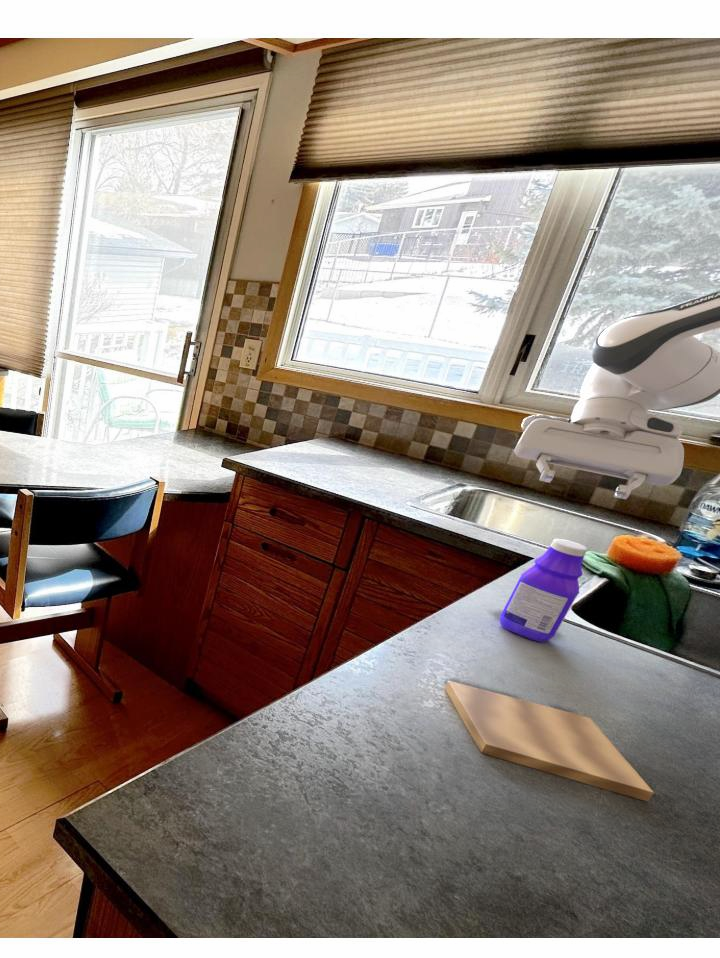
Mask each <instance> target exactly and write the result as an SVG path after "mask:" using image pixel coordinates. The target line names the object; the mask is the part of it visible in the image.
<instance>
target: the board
mask: <svg viewBox="0 0 720 958" xmlns="http://www.w3.org/2000/svg"><path fill="white" fill-rule="evenodd" d="M444 690H445V692H446V694H447V696H448V698H449V699H450V700H451V703H452V704H453V706H454V707H455V709H456V711H457V713H458V715H459V716H460V718H461V720H462V722H463V723H464V726H465V727H466V729H467V730H468V732H469V734H470V736H471V738H472V739H473V741H474V742H475V744H476V746H477V748H478V750H479V751H480V753H481V754H483V755H487V756H491V757H494V758H498V759H500V760H504V761H508V762H511V763H514V764H517V765H521V766H525V767H528V768H532V769H535V770H539V771H541V772H545V773H548V774H552V775H554V776H555V775H556V776H559V777H562V778H566V779H569V780H573V781H575V782H579V783H582V784H586V785H588V786H589V785H590V786H592V787H596V788H600V789H603V790H606V791H608V792H609V791H610V792H613V793H617V794H620V795H622V796H626V797H630V798H633V799H636V800H641V801H644V802H647V803H648V802H649V801H650V799H651V798H652V797H653V795H654V794H655V791H653V790H652V788H651V787H650V786H649V785H648V783H647V782H646V781H645V780H644V779H643V778H642V777H641V775H639V773H638V772H637V771H636V769H634V767H633V766H632V765H631V764H630V763H629V761H628V760H627V759H626V758H625V757H624V755H623V754H621V753H620V751H619V750H618V748H616V746H615V745H614V744H613V743H612V741H610V739H609V738H608V737H607V736H606V735H605V734H604V733H603V731H602V730H601V728H599V727H598V726H597V724H596V723H595V722H594V721H593V720H592V719H591V718H590V717H588V716H584V715H581V714H577V713H574V712H570V711H566V710H562V709H560V708H554V707H551V706H547V705H543V704H539V703H536V702H531V701H528V700H524V699H521V698H516V697H513V696H510V695H505V694H501V693H498V692H493V691H490V690H486V689H483V688H479V687H475V686H472V685H467V684H463V683H459V682H457V681H453V680H447V682H446V684H445V686H444Z"/></svg>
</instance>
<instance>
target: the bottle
mask: <svg viewBox="0 0 720 958" xmlns="http://www.w3.org/2000/svg"><path fill="white" fill-rule="evenodd" d="M587 552H588V548H587V547H586V546H585V545H583V544H580V543H578V542H575V541H572V540H568V539H565V538H564V539H563V538H554V539H553V540H552V542H551V544H550V546H549V547H548V548H547V550H546V551H545V552H544V553H543V554H542V555H540V556H539V557H537V558H535V559H534V565H532V566H530V567H529V568H527V569H526V570H525V571H524V572H522V573H521V574H520V577H519V579H518V581H517V583H516V584H515V587H514V588H513V590H512V592H511V594H510V596H509V597H508V600H507V601H506V604H505V606H504V608H503V610H502V612H501V613H500V615H499V623H500V626H502V628H504V629H505V630H508V631H510V632H512V633H515V634H516V635H519V636H521V637H524V638H526V639H529V640H532V641H535V642H541V643H543V642H547V641H549V640H551V639H552V638H554V637H555V636H556V635H557V633H558V630H559V629H560V627H561V625H562V624H563V621H564V620H565V618H566V616H567V614H568V613H569V611H570V609H571V608H572V605H573V604H574V602H575V600H576V598H577V597H578V595H579V594H580V584H579V578H581V577H583V575H584V573H583V570H582V564H583V560H584V558H585V556H586V553H587Z"/></svg>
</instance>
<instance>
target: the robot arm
mask: <svg viewBox="0 0 720 958" xmlns="http://www.w3.org/2000/svg"><path fill="white" fill-rule="evenodd" d="M717 329H720V289H717V290H715V291H712V292H709V293H706V294H703V295H700V296H697V297H694V298H691V299H688V300H685V301H682V302H679V303H676V304H673V305H670V306H667V307H662V308H660V309H655V310H651V311H645V312H642V313H637V314H633V315H630V316H626V317H624V318H621V319H619V320H616V321H615V322H613V323H611V324H610V325H608V326H607V327H605V328H604V329H603V330H602V331H601V332H600V333H598V335H597V337H596V338H595V341H594V342H593V346H592V353H591V354H592V355H591V357H592V362H593V364H592V365H591V367H590V368H589V370H588V372H587V374H586V375H585V377H584V380H583V382H582V385H581V388H580V391H579V401H578V402H576V404H575V405H574V407H573V410H572V413H571V415H570V418H564V417H558V416H551V415H547V414H541V413H540V414H539V413H538V414H536V415H529V416H527V417H525V418H524V419H523V420H522V422H521V426H520V428H521V431H522V432H523V433H522V434H521V436H520V438H519V439H518V441H517V443H516V444H515V447H514V449H513V453H514V455H516V457H518V458H521V459H526V460H530V461H535V462H536V463H535V466H536V468H537V470H538V471H539V473H540V476H539V479H538V480H539V481H540V482H545V483H549V484H550V483H551V482H553V480H554V477H555V474H556V471H557V470H554V469H550V466H549V464H550V465H555V466H560V467H565V468H568V469H569V468H570V469H574V470H580V471H584V472H589V473H594V474H599V475H603V476H604V475H605V476H609V477H614V478H618V479H623V480H628V481H627V484H626V485H625V484H621V483H620V484H619V485H618V486H617V487H616V488H615V491H614V494H613V497H614V498H617V499H623V500H627V499H628V498H629V497H630V495H631V492H632V491H633V490H635V489H636V488H638V487H640V486H641V485H642V484H649V485H653V486H656V487H657V486H658V487H666V486H669V485H671V484H673V483H674V482H675V481H676V480H677V479H678V478H680V476H681V473H682V471H683V467H684V461H685V459H684V458H685V448H684V445H683V443H682V442H681V441H680V440H679V438H680V437H681V435H682V433H683V431H684V428H683V427H682V425H679V424H677V423H674V422H671V421H669V420H666V419H664V418H660V417H658V416H655V415H653V414H650V413H649V412H648V411H665V410H672V409H680V408H686V407H691V406H695V405H699V404H703V403H706V402H708V401H711V400H713V399H714V398H716V397H717V396H719V395H720V352H719V351H718V350H717V349H715V348H713V347H712V346H710V345H709V344H706V343H704V342H703V341H701V340H700V339H698V338H697V337H695V336H697V335H700V334H704V333H706V332H710V331H714V330H717Z"/></svg>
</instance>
